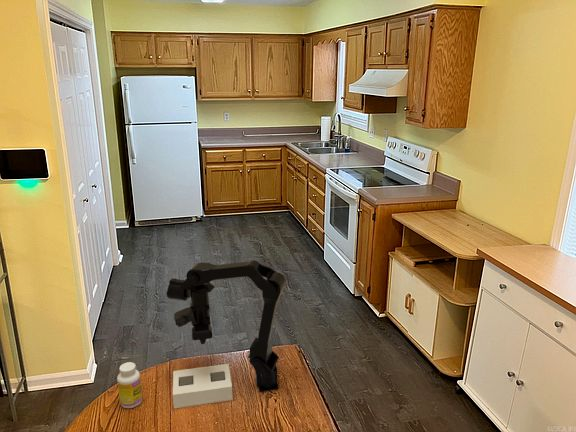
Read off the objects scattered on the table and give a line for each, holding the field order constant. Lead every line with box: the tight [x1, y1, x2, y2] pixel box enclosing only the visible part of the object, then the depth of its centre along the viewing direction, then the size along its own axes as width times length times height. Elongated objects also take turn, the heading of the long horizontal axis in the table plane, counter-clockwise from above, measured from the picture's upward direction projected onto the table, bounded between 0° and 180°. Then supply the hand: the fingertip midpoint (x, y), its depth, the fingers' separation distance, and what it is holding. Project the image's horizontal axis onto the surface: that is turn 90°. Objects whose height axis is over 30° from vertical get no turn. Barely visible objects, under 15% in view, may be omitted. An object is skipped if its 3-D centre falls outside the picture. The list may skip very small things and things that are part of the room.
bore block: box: [172, 363, 234, 409], centre depth 145 cm, size 18×12×5 cm, turn 102°
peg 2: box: [211, 372, 225, 382], centre depth 146 cm, size 4×4×5 cm
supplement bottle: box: [116, 361, 143, 409], centre depth 140 cm, size 7×7×13 cm
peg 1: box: [180, 376, 193, 386], centre depth 144 cm, size 4×4×5 cm
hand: (202, 343), depth 151 cm, fingers closed
